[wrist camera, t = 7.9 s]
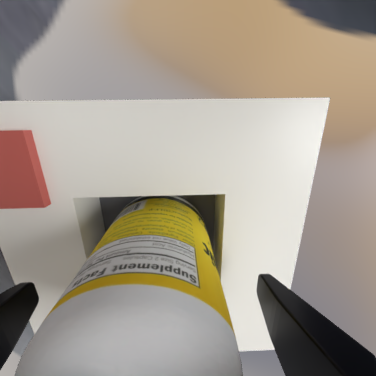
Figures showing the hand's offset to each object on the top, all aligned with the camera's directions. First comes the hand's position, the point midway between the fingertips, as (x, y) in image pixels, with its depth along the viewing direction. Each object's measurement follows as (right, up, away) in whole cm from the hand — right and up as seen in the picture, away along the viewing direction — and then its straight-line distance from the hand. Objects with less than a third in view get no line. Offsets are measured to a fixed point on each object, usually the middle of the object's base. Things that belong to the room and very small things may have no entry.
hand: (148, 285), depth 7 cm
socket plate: (0, +1, +4) cm, 4 cm away
